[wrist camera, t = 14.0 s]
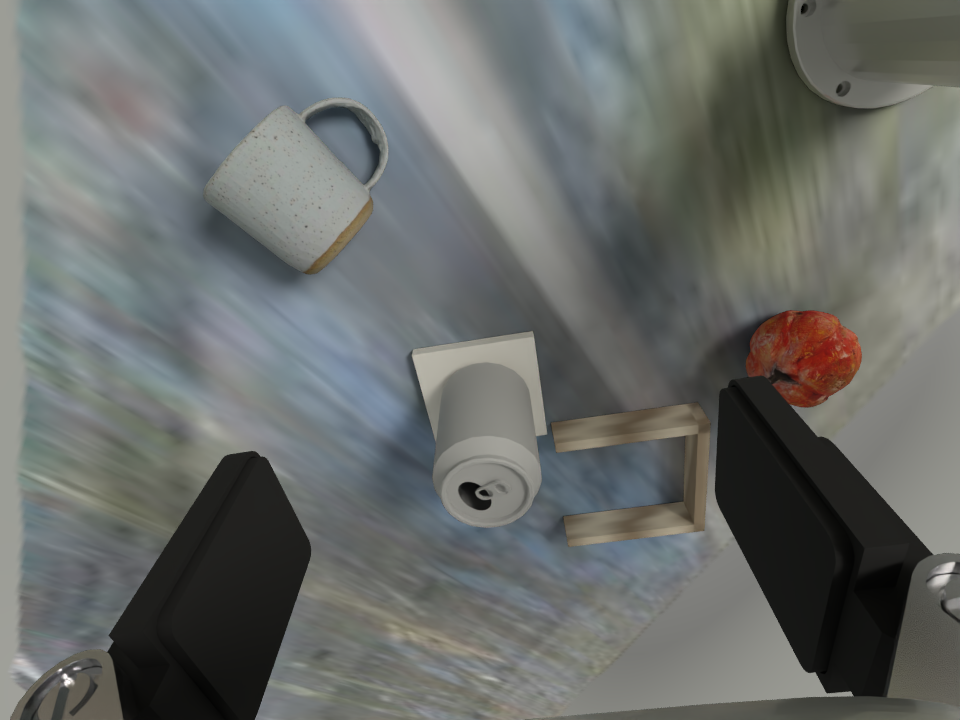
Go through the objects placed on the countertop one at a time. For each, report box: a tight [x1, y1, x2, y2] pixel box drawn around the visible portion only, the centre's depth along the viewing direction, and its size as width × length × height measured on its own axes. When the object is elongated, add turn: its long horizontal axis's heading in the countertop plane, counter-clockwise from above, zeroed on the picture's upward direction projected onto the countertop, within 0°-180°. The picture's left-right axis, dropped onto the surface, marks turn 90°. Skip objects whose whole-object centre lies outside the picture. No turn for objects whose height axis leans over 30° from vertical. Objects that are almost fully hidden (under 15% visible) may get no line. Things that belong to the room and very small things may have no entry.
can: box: [432, 362, 542, 528], centre depth 40 cm, size 8×8×12 cm
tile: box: [412, 331, 547, 441], centre depth 45 cm, size 10×10×1 cm
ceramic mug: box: [203, 98, 388, 274], centre depth 33 cm, size 11×8×8 cm
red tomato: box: [746, 310, 862, 407], centre depth 40 cm, size 7×7×10 cm
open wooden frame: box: [551, 402, 711, 547], centre depth 49 cm, size 13×13×3 cm
